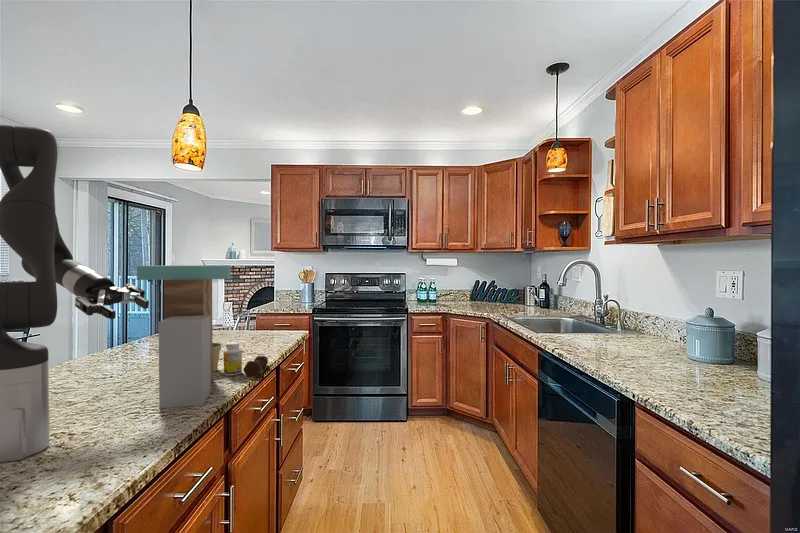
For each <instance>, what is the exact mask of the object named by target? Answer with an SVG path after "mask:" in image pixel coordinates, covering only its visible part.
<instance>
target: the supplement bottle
mask: <svg viewBox="0 0 800 533" xmlns="http://www.w3.org/2000/svg"><path fill="white" fill-rule="evenodd" d="M225 345H226V346H225V349H224V350H223V374H224V375H225V376H231V377H233V376H238V375H240V374H241V373H242V372H243V369H242V368H243V359H242V358H243V355H242V353H243V350H242V348H241V347H240V342H238V341H231V342H226V343H225Z"/></svg>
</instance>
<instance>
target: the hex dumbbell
mask: <svg viewBox="0 0 800 533" xmlns="http://www.w3.org/2000/svg"><path fill="white" fill-rule="evenodd" d="M268 358H269V357H267V356H265V355H257V356H256V357H255V358H254V360H248V361H247V362H246V364H245V366H244V367H243V369H242V371H243V373H244V374H245V375H246V376H245V377H247V378H258V376H259V375H260V373H261V372H262V370H265V368H266V367H267V366H268V364H269V359H268Z"/></svg>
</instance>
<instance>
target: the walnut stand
mask: <svg viewBox="0 0 800 533" xmlns="http://www.w3.org/2000/svg"><path fill="white" fill-rule="evenodd" d="M203 315H210V371H211V383H212V381H213V376H214V374H213V373H214V372H213V347H212V343H213V279H175V280H163V318H164V319H166V318H169V317H171V316H203ZM164 319H163V320H164Z"/></svg>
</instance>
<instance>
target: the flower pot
mask: <svg viewBox="0 0 800 533" xmlns="http://www.w3.org/2000/svg"><path fill="white" fill-rule="evenodd" d="M222 346H223V343H220V342H212V347H213V373H214V372H216V371H217V370H218V367H219V361H220V353H221V350H222Z"/></svg>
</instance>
